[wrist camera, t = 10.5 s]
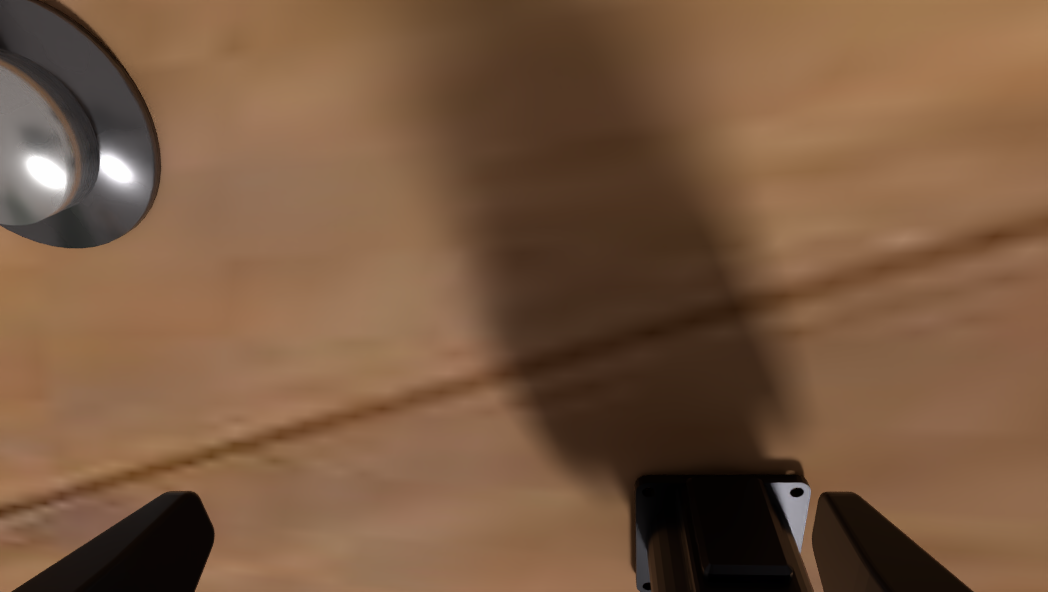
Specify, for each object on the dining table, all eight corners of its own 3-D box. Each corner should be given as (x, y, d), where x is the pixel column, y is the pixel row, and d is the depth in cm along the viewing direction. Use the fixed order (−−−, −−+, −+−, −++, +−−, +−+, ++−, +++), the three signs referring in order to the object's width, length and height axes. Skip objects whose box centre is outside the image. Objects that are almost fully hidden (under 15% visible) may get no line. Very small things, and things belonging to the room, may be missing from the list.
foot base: (195, 237, 21) (188, 242, 20) (-11, 249, 22) (-21, 253, 21) (99, -25, 17) (88, -26, 17) (-144, 3, 18) (-159, 3, 18)
